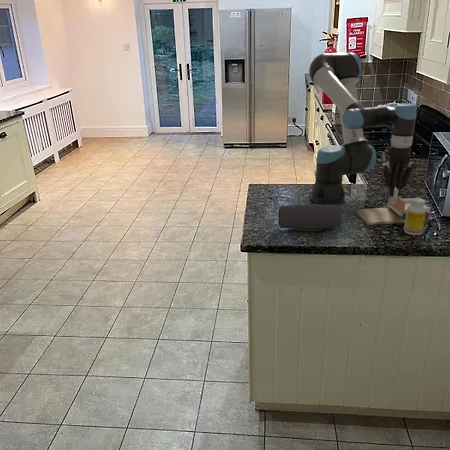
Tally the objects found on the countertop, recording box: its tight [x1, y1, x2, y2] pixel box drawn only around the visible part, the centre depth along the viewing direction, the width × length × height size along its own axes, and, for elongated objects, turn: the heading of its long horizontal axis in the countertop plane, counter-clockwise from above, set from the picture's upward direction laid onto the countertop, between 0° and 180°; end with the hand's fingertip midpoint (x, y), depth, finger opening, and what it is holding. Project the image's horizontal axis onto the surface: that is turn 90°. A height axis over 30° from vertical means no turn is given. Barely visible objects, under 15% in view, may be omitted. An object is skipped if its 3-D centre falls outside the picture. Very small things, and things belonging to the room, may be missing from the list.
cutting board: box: [354, 206, 432, 226], centre depth 182 cm, size 26×14×1 cm, turn 96°
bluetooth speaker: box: [277, 203, 342, 232], centre depth 170 cm, size 23×9×10 cm, turn 89°
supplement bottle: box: [403, 197, 426, 236], centre depth 165 cm, size 7×7×13 cm
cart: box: [386, 195, 431, 219], centre depth 181 cm, size 12×14×7 cm
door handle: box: [379, 152, 390, 165], centre depth 253 cm, size 3×20×16 cm
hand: (393, 203), depth 180 cm, fingers closed
